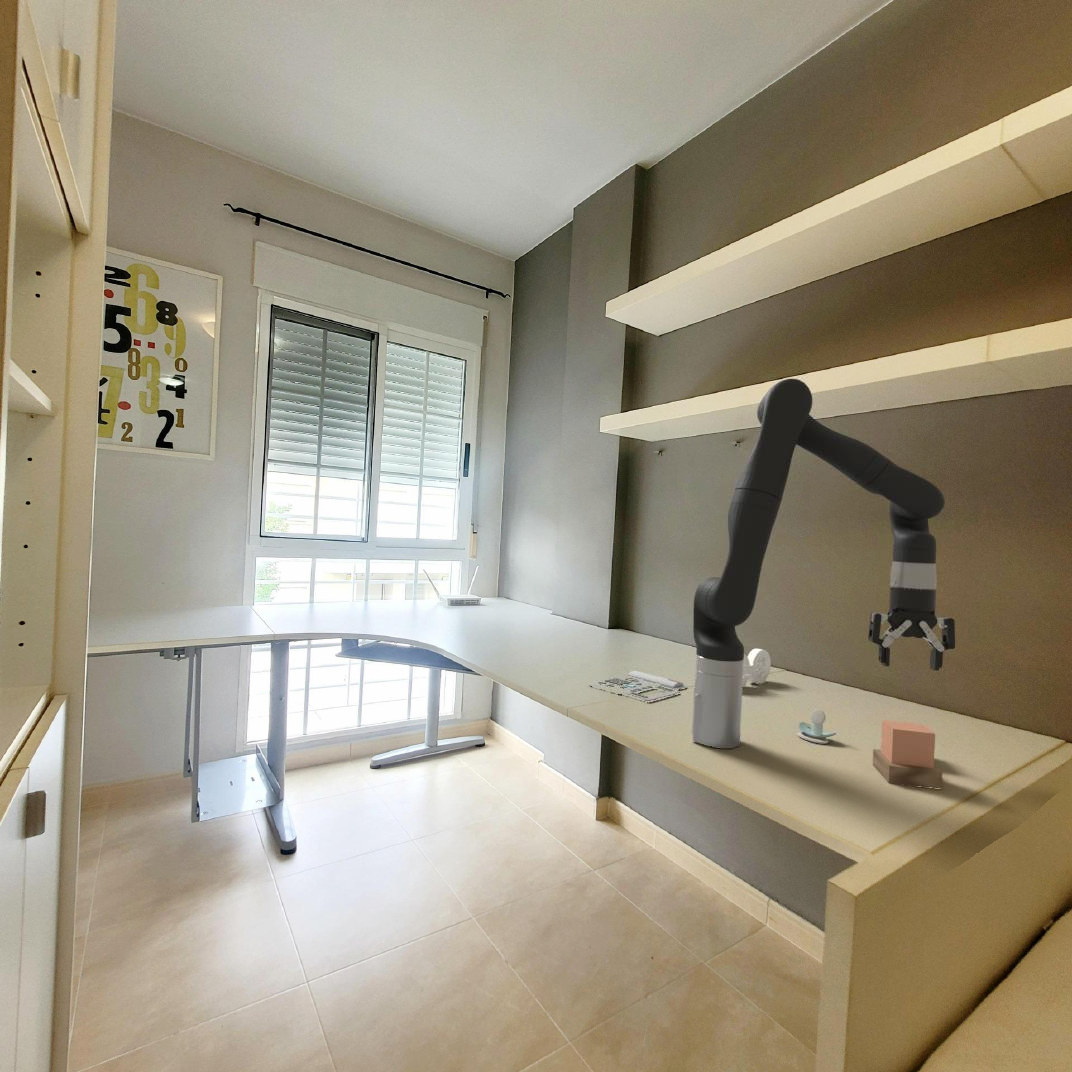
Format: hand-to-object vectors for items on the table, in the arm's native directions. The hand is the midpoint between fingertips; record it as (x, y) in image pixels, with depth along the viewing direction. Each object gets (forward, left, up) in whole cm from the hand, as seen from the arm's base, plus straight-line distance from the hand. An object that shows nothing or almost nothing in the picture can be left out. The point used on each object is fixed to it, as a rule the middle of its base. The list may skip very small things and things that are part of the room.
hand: (909, 667), depth 108 cm
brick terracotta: (-4, -11, -15) cm, 19 cm away
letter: (-24, +45, -18) cm, 54 cm away
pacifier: (-16, +4, -18) cm, 24 cm away
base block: (-4, -11, -18) cm, 21 cm away
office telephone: (-53, +30, -18) cm, 64 cm away
